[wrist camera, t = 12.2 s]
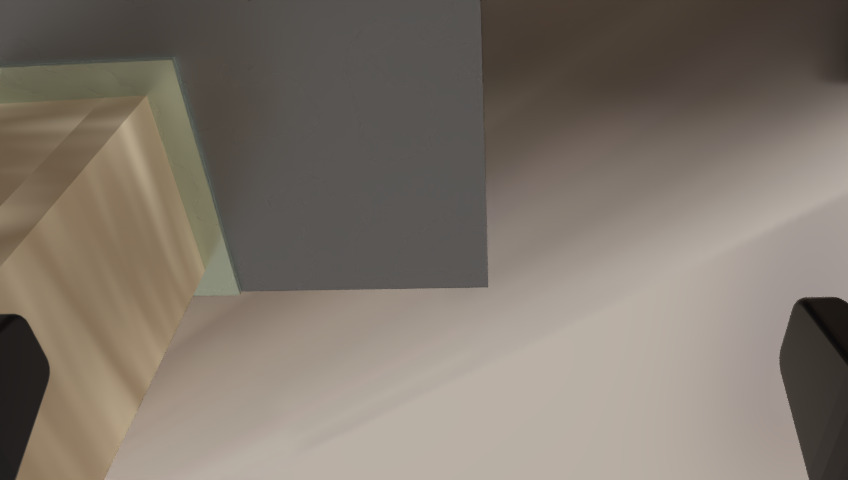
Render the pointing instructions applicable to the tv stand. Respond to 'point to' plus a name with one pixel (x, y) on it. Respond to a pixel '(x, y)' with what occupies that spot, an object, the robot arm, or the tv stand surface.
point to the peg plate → (290, 128)
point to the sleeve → (91, 268)
